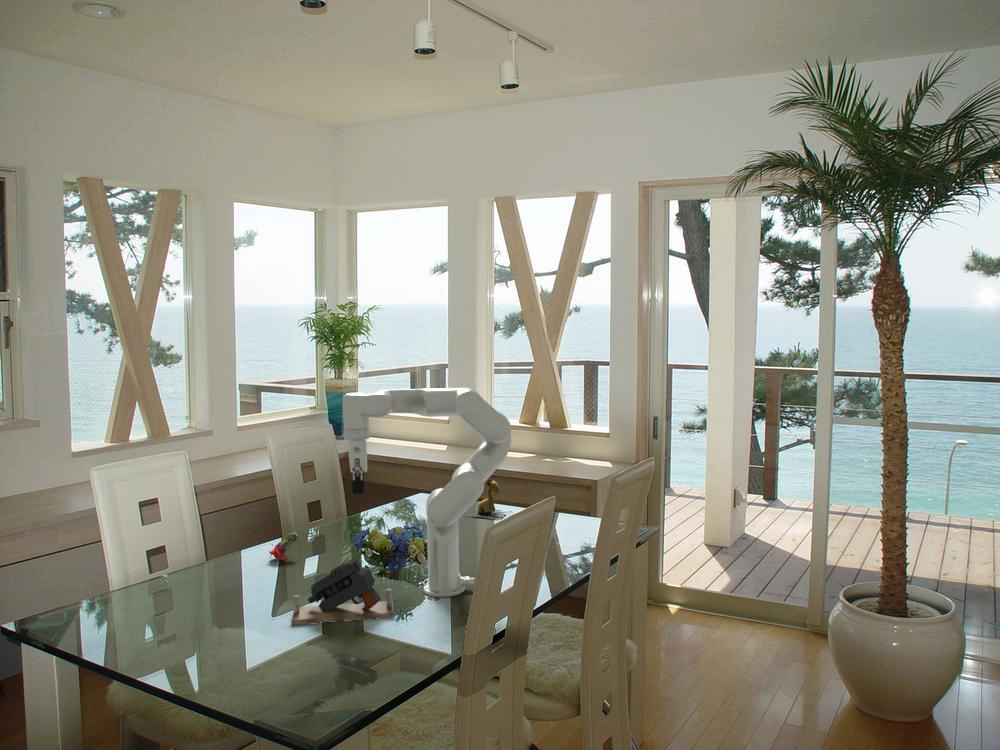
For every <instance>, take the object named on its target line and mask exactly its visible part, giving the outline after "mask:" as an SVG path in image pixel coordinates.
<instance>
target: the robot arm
mask: <svg viewBox="0 0 1000 750" xmlns="http://www.w3.org/2000/svg"><path fill="white" fill-rule="evenodd" d="M342 409H343V410H342V412H343V415H342V416H343V440H345V441H348V442H347V444H348V460H349V461H348V462H349V469H350V472H351V473H352V481H351V482H352V494H353V495H359V494H364V492H365V490H364V489H365V488H364V486H365V481H364V480H365V477H364V473H367V472H368V453H367V452H368V451H367V448H368V447H367V440H368V439H370V418H381V419H383V418H386V417H387V416H389V415H390V414H415V415H419V416H423V417H429V418H430V417H431V418H433V417H435V418H436V417H460V418H462V420H464V421H465V423H467V424H468V425H469V426H470V427H471V428H472V429H474V430H475V431H476V432H477V433H479V435H481V436H482V438H483V440H482V442H481V444H480V445H479V446H478V447H477V449H476V450H475V451H474V452H473V453H472V454H471V455H470V456H469V457H468V458H467V459H466V460H465V461H464V462H463V463H462V464H461V465H459V467H458V468H456V469H455V470H454V472H453V473H452V475H451V480H449V482H448V483H447V484H446V485H445V486H444V487H440V488H436V489H434V490H432V491H431V493H429V495H428V496H427V499H426V504H425V506H426V507H425V512H426V533H427V534H426V535H427V536H426V537H427V571H428V572H427V575H428V577H427V579H428V583H427V584H425V585H424V586H423V592H424V594H425V595H427V596H430V597H435V598H450V597H455V596H458V595H460V594H462V593H463V592H464V591H465V587H466V586H465V585H475V584H474V582H475V580H476V579H475V577H470V576H462V575H461V573H460V555H459V554H460V553H459V549H460V548H459V546H460V545H459V541H460V540H459V538H460V537H459V519H460V518H461V516H463V514H465V513H466V512H467V510H469V509H470V508H471V506H473V505H474V504H475V503H476V502H477V500H479V498H480V497H481V495H482V494H483V491H484V489H485V482H486V481H488V480H489V479H490V477H491V476H492V475H493V473H494V472H495V471H496V470H497V469H498V468H499V467H500V466H501V464H503V462H504V461H505V459H506V458H507V456H508V453H509V451H510V447H511V443H512V426H511V423H510V421H509V419H508V417H507V416H506V415H505V414H504V413H502V412H499V411H498V410H497V409H495V408H494V407H493V406H492V405H490V403H488V402H487V401H486V400H485V399H484V398H483V396H481V395H480V393H479V392H478V391H477V390H476V389H474V388H472V387H471V388H470V387H445V388H443V387H442V388H439V387H438V388H413V389H412V388H409V389H408V388H401V389H397V388H395V389H381V390H377V391H375V392H374V393H369V394H366V393H364V392H347V393H345V394H344V395H343V397H342ZM475 583H476V582H475Z"/></svg>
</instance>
